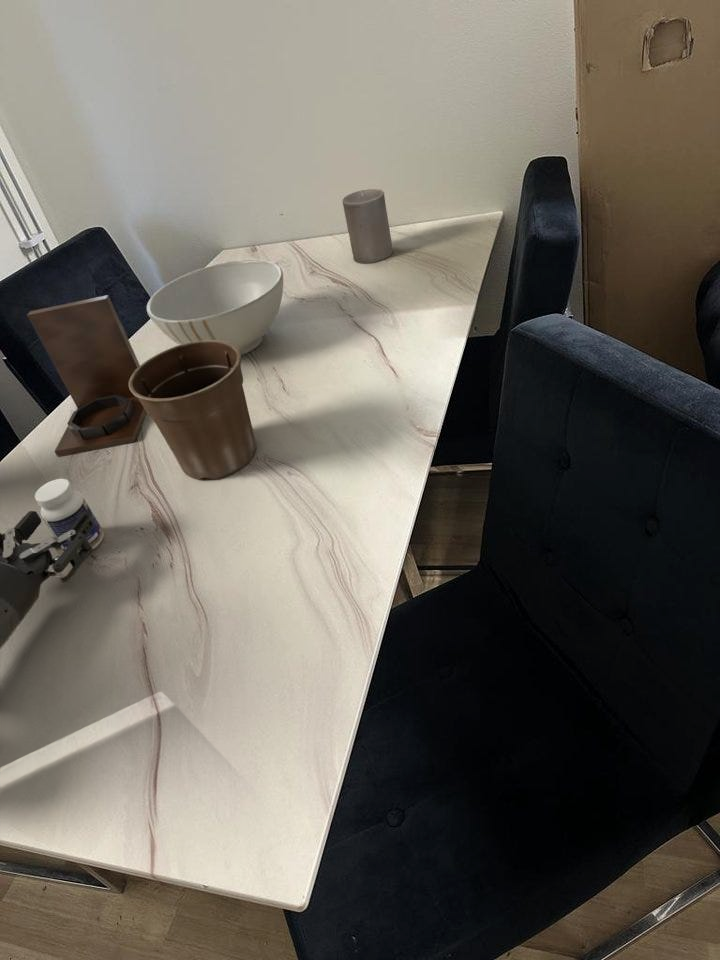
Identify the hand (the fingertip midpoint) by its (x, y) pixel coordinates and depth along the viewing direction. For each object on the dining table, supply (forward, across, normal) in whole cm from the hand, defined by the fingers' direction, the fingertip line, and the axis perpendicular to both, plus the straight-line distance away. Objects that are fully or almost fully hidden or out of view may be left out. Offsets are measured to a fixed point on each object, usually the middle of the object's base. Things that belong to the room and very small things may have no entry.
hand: (62, 515), depth 89 cm
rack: (+29, +13, +6) cm, 33 cm away
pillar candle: (+97, -23, +6) cm, 100 cm away
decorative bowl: (+57, -2, +6) cm, 57 cm away
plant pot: (+20, -14, +6) cm, 25 cm away
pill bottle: (+1, 0, +6) cm, 6 cm away
